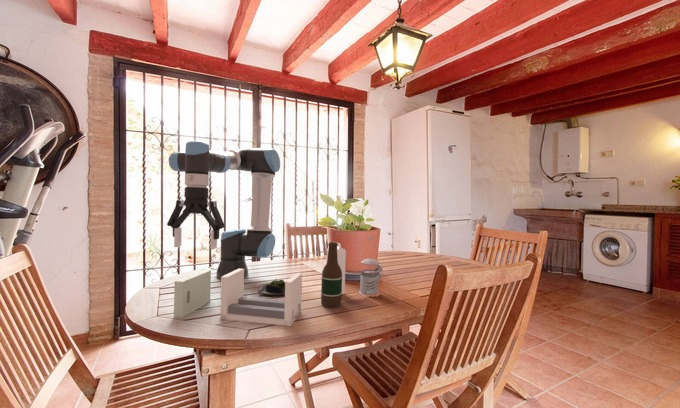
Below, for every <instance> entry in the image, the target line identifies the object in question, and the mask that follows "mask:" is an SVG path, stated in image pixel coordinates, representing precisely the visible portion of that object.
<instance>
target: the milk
mask: <svg viewBox="0 0 680 408" xmlns="http://www.w3.org/2000/svg"><path fill="white" fill-rule="evenodd" d="M335 242H336V241H335ZM336 243H337V244H338V246H337V260H338V265H339V266H340V268H341V271H342V294H343V295H345V294H344V293H346V292H345V291H346V290H345V289H346V265H347V264H346V260H347V259H346V258H347V249H345V248H343V247H342V244H341V243H340V242H336ZM328 250H329V247H328V248H326V260H325V261H326V264H327V260H328ZM326 264H325V265H326Z"/></svg>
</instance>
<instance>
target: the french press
mask: <svg viewBox="0 0 680 408" xmlns="http://www.w3.org/2000/svg"><path fill="white" fill-rule="evenodd" d="M368 239H369V240H374V237H373V236H369V237H368ZM369 244H370V245H369V246H370V248H369V249H370V251H369V252H370V253H369V258H365V259H363V260H361V261H360V264H361V265H364V266H374V267H375V269H378V270H379V271H378V270H375V269H374V270H373V269H370V268H368V269H362V270H361V274H360V281H359V283H360V284H359V286H360V288H359V291H358V292H359V293H360V294H362V295H375V294H377V293H378V292H379V281H380V280H382V277H383V274H381V270H383V268H382V266H381V265H380V261H378V260H377V259H375V258H371V257H372V255H371V252H372V242H370V243H369ZM376 266H377V267H376ZM380 269H381V270H380ZM378 273H379V274H378ZM379 277H380V278H379Z"/></svg>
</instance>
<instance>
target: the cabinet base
mask: <svg viewBox="0 0 680 408" xmlns="http://www.w3.org/2000/svg"><path fill="white" fill-rule="evenodd" d="M284 282H285V296H284V300H280V299H279V300H277V299H266V298H257V297H256V298H255V297H245V296H244V295H245V294H244V290H245V289H244V288H245V285H244V284H245V277H244V269H237V270H235V271H233V272H230V273H228V274H226V275H224V276H222V277H221V279H220V313H219V314H220V318H219V319H220V320H226V321H228V320H229V321H236V322H245V323H246V322H249V323H255V324H256V323H258V324H267V325H277V326H286V327H291V325H292V324H293V323H294V322H295V321H296V319H297V318H298V317H299V315H300V314H301V312H302V288H303V273H301V272H295V273H294V274H293V275H292V276H291V277H289V278H288V279H287V280H285V281H284Z"/></svg>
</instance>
